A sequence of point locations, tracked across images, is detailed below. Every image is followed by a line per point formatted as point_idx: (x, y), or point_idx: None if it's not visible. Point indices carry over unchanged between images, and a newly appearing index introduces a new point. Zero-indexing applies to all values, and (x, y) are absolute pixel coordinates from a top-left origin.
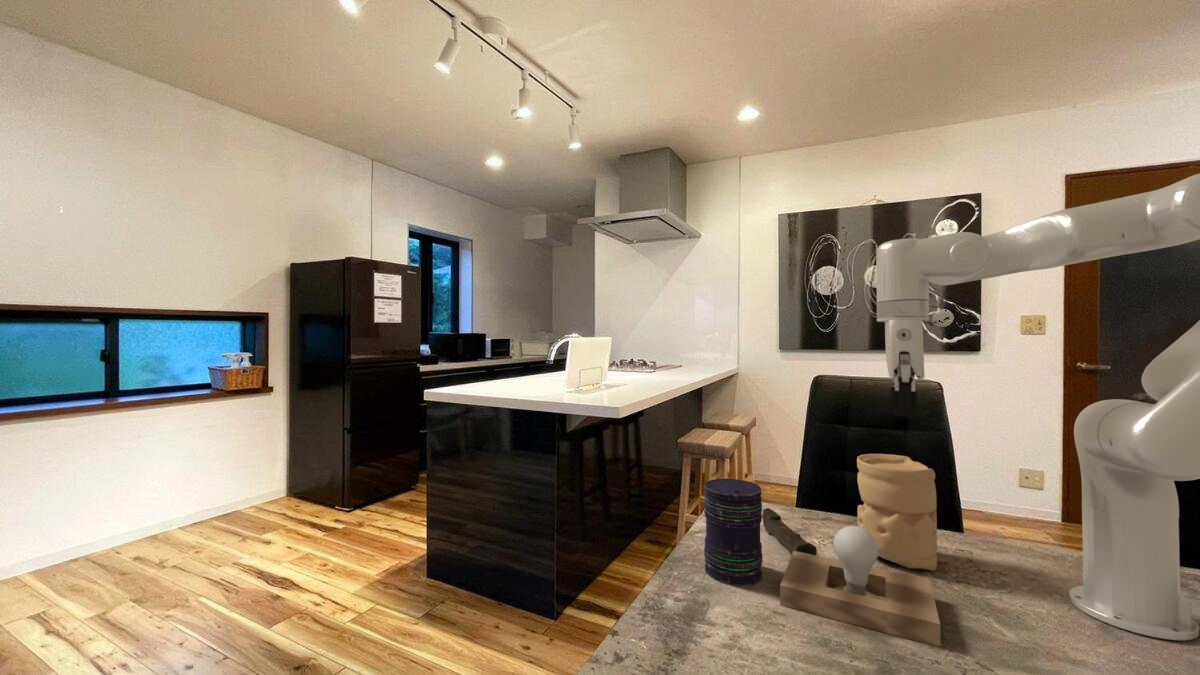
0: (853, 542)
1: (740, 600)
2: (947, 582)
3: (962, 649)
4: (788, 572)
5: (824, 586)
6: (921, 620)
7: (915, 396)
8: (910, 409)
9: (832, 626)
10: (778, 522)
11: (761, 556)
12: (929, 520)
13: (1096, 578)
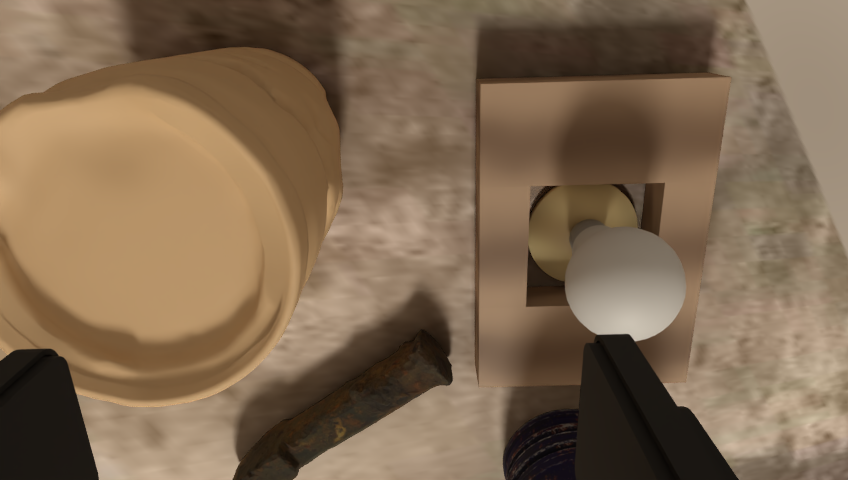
0: (683, 299)
1: None
2: (349, 28)
3: (696, 30)
4: None
5: None
6: (724, 114)
7: (712, 472)
8: (692, 414)
9: (710, 264)
10: (308, 449)
11: (575, 441)
12: (274, 83)
13: None
